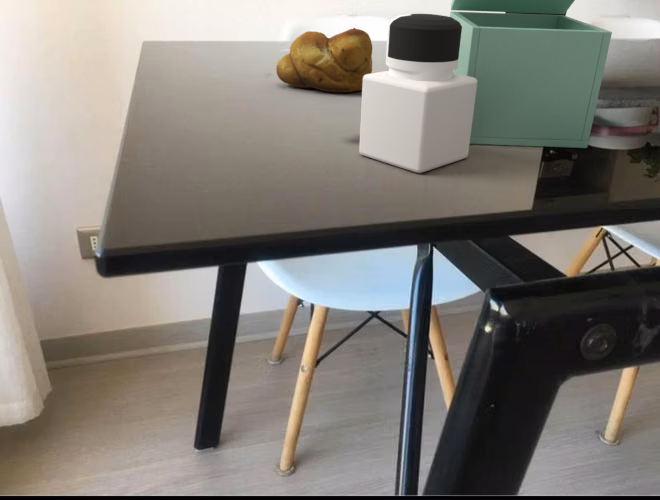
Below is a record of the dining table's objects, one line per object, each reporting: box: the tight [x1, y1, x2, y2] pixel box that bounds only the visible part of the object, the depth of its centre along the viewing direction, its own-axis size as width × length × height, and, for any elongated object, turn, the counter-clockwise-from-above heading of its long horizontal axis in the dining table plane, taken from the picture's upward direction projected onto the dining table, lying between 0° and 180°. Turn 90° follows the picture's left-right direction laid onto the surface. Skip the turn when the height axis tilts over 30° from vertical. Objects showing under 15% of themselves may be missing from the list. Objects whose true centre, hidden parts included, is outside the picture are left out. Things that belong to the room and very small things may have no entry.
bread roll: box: [275, 27, 373, 93], centre depth 81 cm, size 13×10×8 cm
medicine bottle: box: [358, 13, 477, 174], centre depth 54 cm, size 7×7×12 cm
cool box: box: [449, 11, 613, 149], centre depth 65 cm, size 14×12×11 cm
